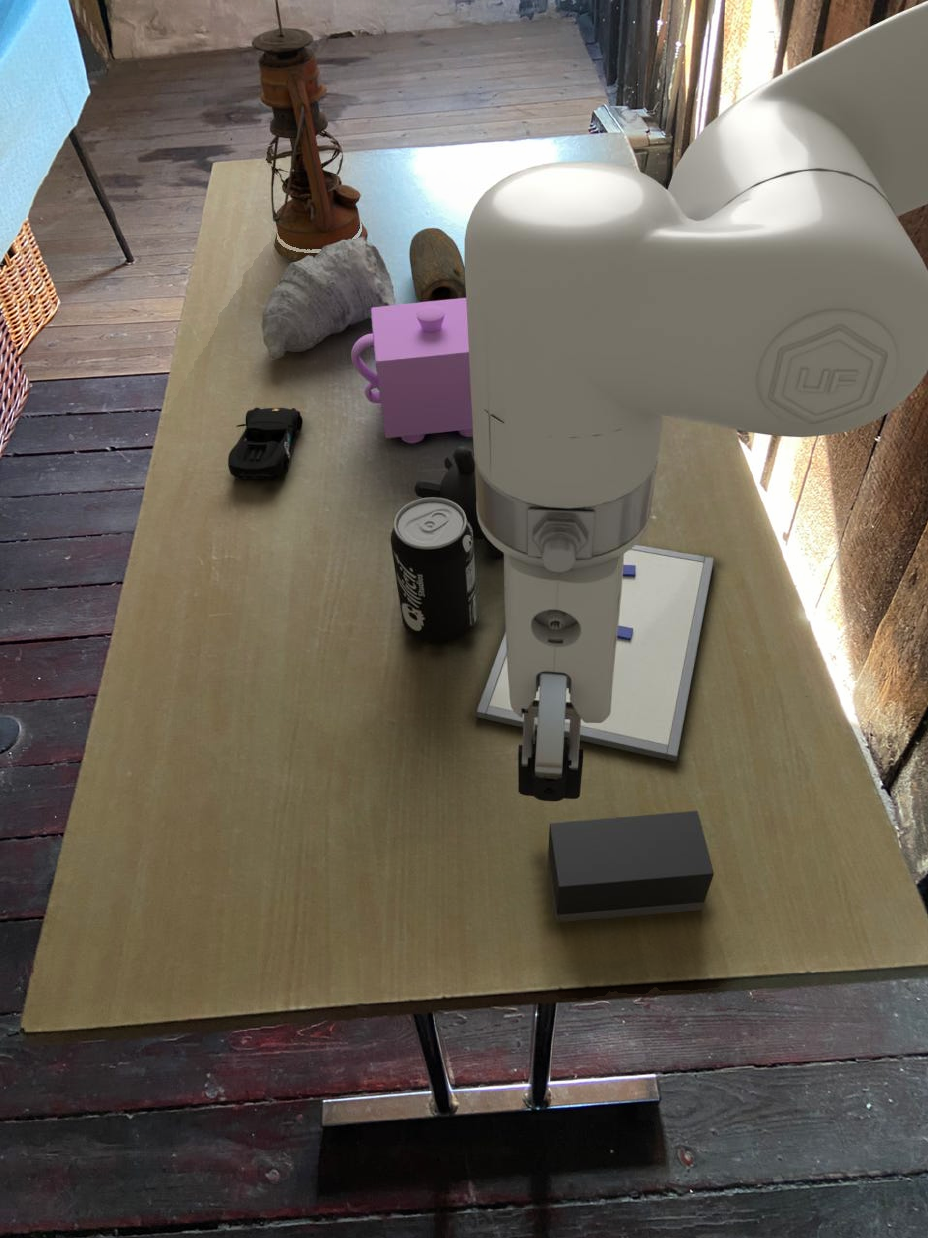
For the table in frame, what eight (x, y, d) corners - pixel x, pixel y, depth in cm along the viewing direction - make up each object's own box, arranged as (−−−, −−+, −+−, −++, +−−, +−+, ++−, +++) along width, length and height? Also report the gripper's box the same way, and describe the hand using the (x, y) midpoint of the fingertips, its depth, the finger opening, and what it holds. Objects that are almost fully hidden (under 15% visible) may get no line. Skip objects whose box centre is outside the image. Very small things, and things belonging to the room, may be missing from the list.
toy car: (300, 412, 104) (293, 379, 101) (318, 479, 96) (310, 446, 93) (223, 427, 103) (214, 395, 99) (235, 496, 95) (225, 464, 92)
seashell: (269, 376, 109) (250, 297, 101) (266, 310, 118) (249, 233, 111) (406, 358, 110) (398, 278, 102) (392, 294, 119) (384, 217, 112)
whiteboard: (712, 564, 85) (714, 557, 85) (676, 762, 72) (677, 756, 71) (542, 534, 89) (542, 527, 88) (476, 717, 75) (476, 711, 75)
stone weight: (479, 323, 114) (477, 271, 109) (422, 331, 113) (418, 280, 108) (455, 263, 124) (452, 213, 119) (403, 271, 123) (398, 221, 118)
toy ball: (545, 566, 82) (411, 544, 80) (520, 564, 93) (400, 545, 91) (565, 445, 82) (429, 421, 80) (537, 457, 92) (417, 436, 90)
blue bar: (635, 567, 85) (635, 565, 84) (635, 577, 84) (635, 574, 84) (579, 564, 85) (579, 562, 85) (579, 573, 84) (579, 571, 84)
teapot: (363, 452, 98) (346, 348, 89) (359, 396, 105) (343, 293, 96) (551, 432, 99) (554, 326, 90) (535, 377, 106) (537, 273, 96)
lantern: (380, 258, 126) (348, -1, 103) (284, 276, 124) (231, 17, 101) (353, 204, 137) (320, -40, 114) (265, 220, 135) (213, -26, 112)
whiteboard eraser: (686, 849, 67) (697, 810, 63) (701, 910, 64) (714, 874, 60) (547, 861, 67) (549, 823, 63) (556, 922, 64) (558, 887, 60)
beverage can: (387, 624, 82) (371, 524, 73) (439, 583, 85) (429, 482, 76) (441, 662, 79) (430, 563, 70) (493, 618, 82) (489, 517, 73)
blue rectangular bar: (633, 630, 80) (633, 628, 79) (630, 640, 79) (630, 638, 79) (575, 619, 81) (575, 616, 81) (572, 629, 80) (572, 627, 80)
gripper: (658, 644, 34) (620, 864, 46) (650, 367, 45) (621, 606, 58) (451, 633, 34) (470, 852, 47) (494, 363, 46) (500, 600, 59)
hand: (553, 717), depth 53 cm, fingers open, 9 cm apart
